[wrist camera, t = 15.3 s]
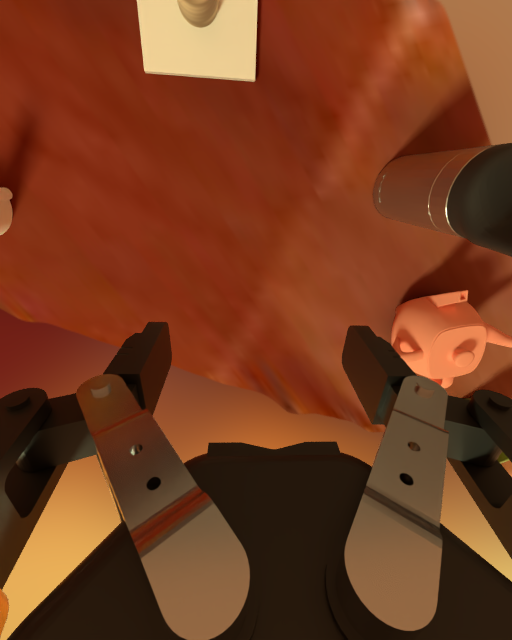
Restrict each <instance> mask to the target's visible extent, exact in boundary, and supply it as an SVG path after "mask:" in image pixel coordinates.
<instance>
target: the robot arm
mask: <svg viewBox="0 0 512 640" xmlns="http://www.w3.org/2000/svg"><path fill="white" fill-rule="evenodd" d="M373 198H374V203H375V206H376V208H377V210H378V211H379V212H380V213H381V214H382V215H383V216H385V217H386V218H390V219H394V220H397V221H401V222H404V223H408V224H412V225H416V226H420V227H424V228H428V229H431V230H435V231H439V232H443V233H447V234H451V235H455V236H459V237H463V238H467V239H468V240H469V241H470V242H472V243H474V244H476V245H479V246H482V247H485V248H488V249H491V250H494V251H497V252H500V253H503V254H506V255H508V256H511V257H512V143H507V144H501V145H491V146H483V147H475V148H467V149H459V150H450V151H442V152H433V153H425V154H416V155H407V156H402V157H399V158H396V159H394V160H393V161H391V162H390V163H388V164H387V165H386V166H385V167H384V168H383V170H382V171H381V173H380V174H379V176H378V178H377V180H376V183H375V186H374V192H373ZM171 359H172V352H171V344H170V335H169V327H168V323H167V322H148V324H147V325H146V327H145V329H144V330H143V332H142V333H135V334H134V335H132V336H131V337H129V338H128V339H126V341H125V342H124V344H123V345H122V347H121V349H120V350H119V351H118V353H117V355H115V357H114V359H113V360H112V361H111V363H110V364H109V366H108V367H107V369H106V370H105V372H104V373H103V375H99V376H96V377H93V378H91V379H89V380H87V381H85V382H84V383H83V384H81V386H80V387H79V388H78V389H77V392H76V393H75V394H71V395H66V396H62V397H56V398H51V399H48V396H47V394H46V392H45V391H44V390H42V389H39V388H27V389H22V390H19V391H16V392H13V393H11V394H8V395H6V396H5V397H3V398H1V399H0V637H1V633H2V630H3V627H4V624H5V622H6V619H7V616H8V611H9V602H8V598H7V596H6V594H5V593H4V592H3V591H2V589H3V587H4V585H5V583H6V581H7V579H8V577H9V575H10V573H11V571H12V570H13V567H14V566H15V564H16V562H17V560H18V558H19V556H20V554H21V552H22V550H23V548H24V547H25V545H26V543H27V541H28V539H29V537H30V535H31V533H32V531H33V529H34V527H35V525H36V523H37V521H38V520H39V518H40V516H41V514H42V512H43V510H44V508H45V506H46V504H47V502H48V500H49V498H50V497H51V495H52V493H53V491H54V489H55V487H56V485H57V483H58V481H59V479H60V478H61V475H62V474H63V472H64V470H65V468H66V466H67V464H68V462H71V461H75V460H78V459H82V458H85V457H89V456H93V455H96V456H97V459H98V461H99V464H100V467H101V469H102V472H103V475H104V477H105V480H106V483H107V485H108V488H109V491H110V493H111V496H112V499H113V502H114V504H115V507H116V510H117V513H118V515H119V519H120V521H121V523H120V524H119V525H118V526H117V527H116V528H115V529H114V530H113V531H112V532H111V534H109V535H108V536H107V537H106V538H105V539H104V540H103V541H102V542H101V543H100V544H99V545H98V546H97V547H96V548H95V549H94V550H93V551H92V552H91V553H90V554H89V555H88V556H87V557H86V558H85V559H84V560H83V561H82V562H81V563H80V564H79V565H78V566H77V567H76V568H75V569H74V570H73V571H72V572H71V573H70V574H69V575H68V576H67V577H66V579H64V580H63V581H62V582H61V583H60V584H59V585H58V586H57V587H56V588H55V589H54V590H53V591H52V592H51V593H50V594H49V596H47V597H46V598H45V599H44V600H43V601H42V602H41V603H40V604H39V605H38V606H37V607H36V608H35V609H34V610H33V611H32V612H31V613H30V614H29V615H28V616H27V617H26V618H25V619H24V621H23V622H22V623H21V624H20V625H19V626H18V627H17V628H16V629H15V631H14V632H13V633H12V634H11V635H10V637H9V638H8V639H7V640H512V582H511V581H510V580H509V579H508V578H506V577H505V576H504V575H503V574H502V573H500V572H499V571H498V570H497V569H495V568H494V567H493V566H492V565H491V564H489V563H488V562H487V561H486V560H485V559H483V558H482V557H481V556H480V555H479V554H477V553H476V552H475V551H474V550H472V549H471V548H470V547H469V546H468V545H466V544H465V543H464V542H463V541H462V540H460V539H459V538H458V537H457V536H456V535H454V534H453V533H452V532H450V531H449V530H448V529H447V528H445V526H443V525H442V524H441V523H440V516H441V507H442V497H443V487H444V478H445V468H446V458H447V459H448V461H449V462H450V464H451V465H452V466H453V468H454V470H455V472H456V473H457V475H458V476H459V478H460V479H461V481H462V482H463V484H464V485H465V487H466V489H467V490H468V492H469V493H470V495H471V496H472V498H473V499H474V501H475V502H476V504H477V506H478V507H479V509H480V510H481V512H482V514H483V515H484V517H485V518H486V520H487V521H488V523H489V524H490V526H491V528H492V529H493V530H494V532H495V534H496V535H497V537H498V538H499V540H500V542H501V543H502V545H503V546H504V548H505V549H506V551H507V552H508V554H509V555H510V557H511V559H512V477H511V476H510V475H509V474H508V472H507V471H506V470H505V469H504V467H503V466H502V465H501V464H500V463H499V461H498V460H497V458H498V457H499V455H500V454H501V453H502V452H503V453H504V454H505V455H506V456H507V457H508V459H509V460H510V461H511V462H512V399H510V398H508V397H506V396H504V395H502V394H500V393H497V392H493V391H489V390H478V391H475V392H474V394H473V396H472V398H471V400H467V399H462V398H458V397H453V396H449V395H447V392H446V391H445V389H444V388H443V387H442V386H441V385H439V384H438V383H436V382H435V381H433V380H430V379H428V378H425V377H421V376H417V375H416V374H415V373H414V372H413V371H412V369H411V368H410V367H409V366H408V365H407V363H406V362H405V361H404V360H403V359H402V358H401V356H400V355H399V354H398V353H397V352H396V350H395V349H394V348H393V347H392V346H391V344H390V343H388V342H387V341H385V340H384V339H382V338H381V337H377V336H376V335H375V334H374V333H373V331H372V330H371V329H370V328H369V326H350V327H349V328H348V331H347V336H346V340H345V345H344V349H343V353H342V365H343V368H344V370H345V372H346V374H347V376H348V378H349V380H350V382H351V384H352V386H353V388H354V390H355V392H356V394H357V396H358V398H359V400H360V402H361V404H362V405H363V407H364V409H365V411H366V413H367V415H368V417H369V419H370V421H371V423H372V424H384V425H385V427H386V429H385V432H384V435H383V438H382V441H381V444H380V446H379V449H378V452H377V454H376V457H375V460H374V463H373V466H372V467H371V466H370V465H368V464H367V463H365V462H363V461H361V460H360V459H357V458H355V457H353V456H350V455H347V454H344V453H340V451H339V448H338V445H337V442H304V443H300V444H296V445H292V446H288V447H284V448H280V449H267V448H263V447H258V446H254V445H250V444H245V443H209V445H208V453H207V454H203V455H200V456H197V457H195V458H193V459H191V460H189V461H187V462H185V463H183V462H182V461H181V459H180V458H179V456H178V454H177V453H176V451H175V450H174V448H173V447H172V445H171V444H170V442H169V441H168V439H167V438H166V436H165V434H164V433H163V431H162V430H161V428H160V427H159V425H158V424H157V422H156V421H155V419H154V418H153V413H154V410H155V407H156V405H157V402H158V399H159V396H160V394H161V391H162V388H163V385H164V383H165V380H166V377H167V374H168V371H169V369H170V366H171Z"/></svg>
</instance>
